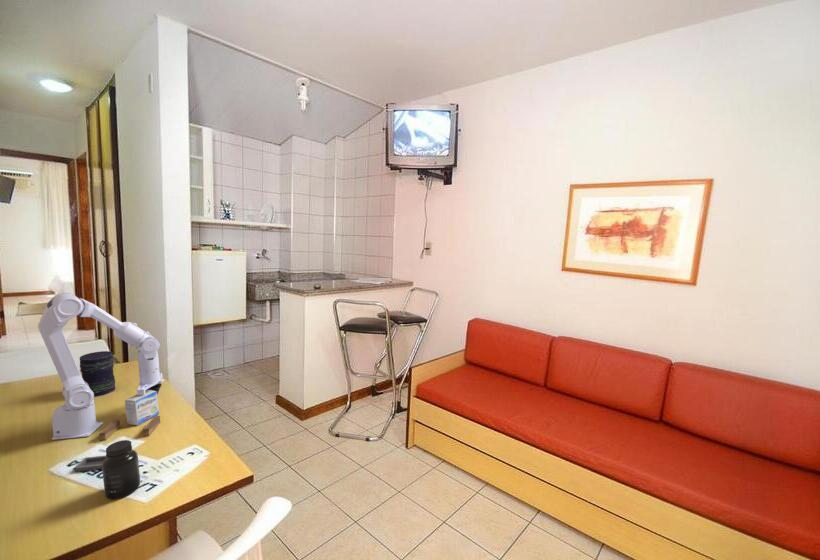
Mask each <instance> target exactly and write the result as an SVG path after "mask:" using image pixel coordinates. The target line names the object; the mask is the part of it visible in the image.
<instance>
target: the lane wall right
mask: <svg viewBox="0 0 820 560" xmlns="http://www.w3.org/2000/svg"><path fill="white" fill-rule="evenodd" d="M160 424H161V415H156V416H154V417H152V418H151V419H150V421H149V422H148V423H147V425H145V427H144V428H143V429H142V431H143V433H142V434H143V437H150V436H151V435H152V434H153V432H154V431H155V430H156V429H157V428H158V427H159V425H160Z"/></svg>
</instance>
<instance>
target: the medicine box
mask: <svg viewBox="0 0 820 560" xmlns="http://www.w3.org/2000/svg"><path fill="white" fill-rule="evenodd" d="M124 405H125V413H126V423H127V425H132V426H133V425H134V426H139V425H141V424H143V423H145V422H148V421H149V420H152V419H153V418H154V417H155V416H159V415H160V410H159V398H158V396H157V391H153V390H147V391H145V394H144V395H137V394H136V395H133V396H131V397H129V398H127V399H125V400H124Z"/></svg>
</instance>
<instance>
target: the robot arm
mask: <svg viewBox="0 0 820 560" xmlns="http://www.w3.org/2000/svg"><path fill="white" fill-rule="evenodd" d="M77 316H79V317H80V318H92V319H93V320H96V321H97V322H99V323H101V324H103V325H105V326H106V327H108V328H110V329H112V330H114V331H113V332H114V336H115V337H116V338H118V339H120V340H122V341H123V342H125V343H127V344H128V345H130V346H132V347H134V348H135V349H138V350H137V354H138V355H137V356H138V358H137V361H138V373H139V374H138V375H139V384H138V388H137V389H136V395H144V394H145V391H147V390H153V391H157V396H158V394H159V391H160V390H161V388H162V383H163V382H165V379H164V378H163V372H160V359H159V353H158V350H160V347H161V343H160V342H159V340H158V339H157V338H156V337H154V336H153V335H152V334H151V333H150V331H147V330H146V331H145V330H143V329H142V328H140V327H138V324H137V323H136V322H134V321H133V322H131V321H123V322H122V321H120V320H119V319H117V318H116V317H115V316H113V315H111V314H110V313H108V312H107V311H105V310H104V309H102V308H100V307H99V306H97V305H96V304H95V303H92V302H90V301H88V300H86V299H84V298H81V297H77V295H76V294H73V293H71V292H60V293H58V294H55V295H54V296H53V297H52V298H51V299H50V300H49V301H47V302H46V305H45V308H44V310H43V313H42V314H41V317H40V319H39V322H38V324H37V329H38V330H39V333H40V335H41V338H42V340H43V342H44V344H45V347H46V349H47V352H48V353H49V356H50V358H51V360H52V363H53V365H54V367H55V371H56V372H57V375H58V377H59V379H60V381H61V383H62V390H61V394H62V397H63V398H64V399H65V402H64V404H63V405H59V406H57V407H56V408H55V410H53V412H52V416H51V425H52V435H53V437H51V440H52V441H54V440H63V439H74V438H85V437H90V436H91V435H92V434H93V433H94V432H95V431H97V430H98V429H99V427H101V426H102V425H104V421H99V422H98V421H97V417H96V416H97V415H96V406H95V403H96V402H95V399H94V398H95V397H94V393H93V391H92V390H91V389H90V388H89V385H88V383H87V382H85V381H84V380H83V378H82V373H81V371H80V369H79V367H78V365H77V362H76V359H75V358H74V355H73V353H72V350H71V348H70V346H69V343H68V341H67V339H66V336H65V334H64V332H63V328H64V327H65V326H66V325H67V323H68V322H69V321H70V320H72V319H73V318H76V317H77Z"/></svg>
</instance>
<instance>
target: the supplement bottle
mask: <svg viewBox="0 0 820 560" xmlns="http://www.w3.org/2000/svg"><path fill="white" fill-rule="evenodd" d="M105 456H106V457H107V458H105V460H104V461H103V463H102V469H101V471H102V480H103V490H104V495H105V497H106V498H107V499H109V500H117V499H118V500H119V499H123V498H124V497H125V498H126V497H128V496H129V495H131V494H133V493H134V492H135V491H137V490H138V488H139V487H140V485H141V475H140V474H141V473H140V465H139V456H138V453H137V451H136V450H135V449H133V445H132V442H131V440H129V439H124V440H119V441H116V442H113V443H111V444H109V445H108V446H107V447H106V448H105Z"/></svg>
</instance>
